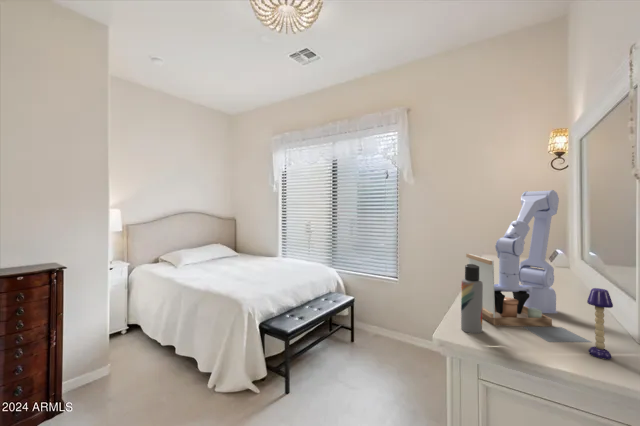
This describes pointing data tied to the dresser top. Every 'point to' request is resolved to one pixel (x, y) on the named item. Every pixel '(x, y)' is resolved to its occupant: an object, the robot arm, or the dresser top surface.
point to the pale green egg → (534, 313)
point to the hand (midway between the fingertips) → (508, 312)
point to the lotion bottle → (471, 300)
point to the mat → (556, 334)
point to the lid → (485, 282)
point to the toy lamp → (599, 320)
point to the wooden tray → (519, 319)
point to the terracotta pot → (509, 307)
